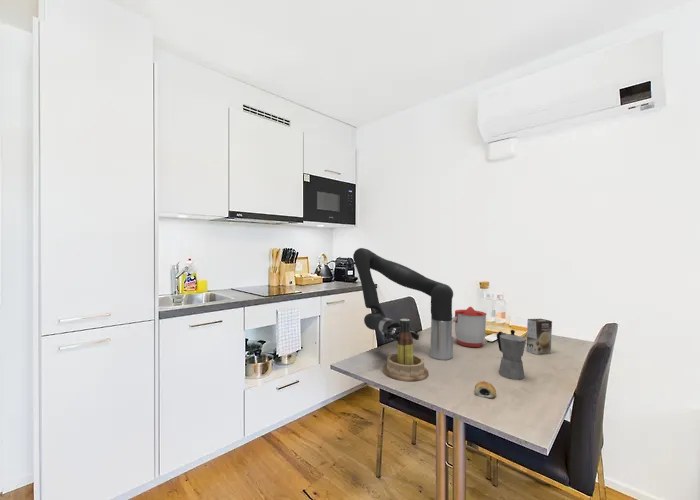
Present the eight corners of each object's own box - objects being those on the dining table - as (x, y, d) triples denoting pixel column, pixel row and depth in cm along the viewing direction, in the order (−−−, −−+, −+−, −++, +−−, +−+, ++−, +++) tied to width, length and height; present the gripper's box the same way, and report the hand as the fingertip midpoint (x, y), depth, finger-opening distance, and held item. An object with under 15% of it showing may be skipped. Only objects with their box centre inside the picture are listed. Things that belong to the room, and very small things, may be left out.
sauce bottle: (414, 367, 128) (415, 318, 128) (412, 373, 122) (413, 322, 122) (398, 365, 131) (399, 317, 130) (395, 370, 125) (396, 320, 125)
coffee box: (537, 355, 152) (538, 321, 152) (525, 351, 158) (526, 318, 158) (551, 353, 155) (552, 320, 155) (539, 349, 161) (540, 318, 161)
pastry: (476, 385, 116) (476, 375, 116) (496, 389, 113) (496, 379, 113) (473, 396, 107) (474, 384, 107) (495, 400, 104) (496, 389, 104)
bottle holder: (413, 362, 138) (413, 350, 138) (437, 378, 121) (438, 365, 121) (375, 366, 132) (375, 354, 132) (395, 383, 115) (395, 370, 115)
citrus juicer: (448, 339, 176) (449, 303, 175) (480, 341, 173) (482, 304, 173) (453, 347, 160) (454, 308, 160) (489, 350, 158) (490, 310, 158)
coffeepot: (534, 381, 121) (535, 334, 121) (513, 382, 119) (514, 334, 119) (506, 366, 136) (507, 324, 136) (486, 367, 134) (487, 325, 134)
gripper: (375, 320, 137) (392, 329, 122) (404, 318, 142) (424, 327, 127) (375, 337, 137) (391, 349, 122) (404, 335, 142) (423, 346, 127)
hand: (408, 338), depth 125 cm, fingers open, 8 cm apart
